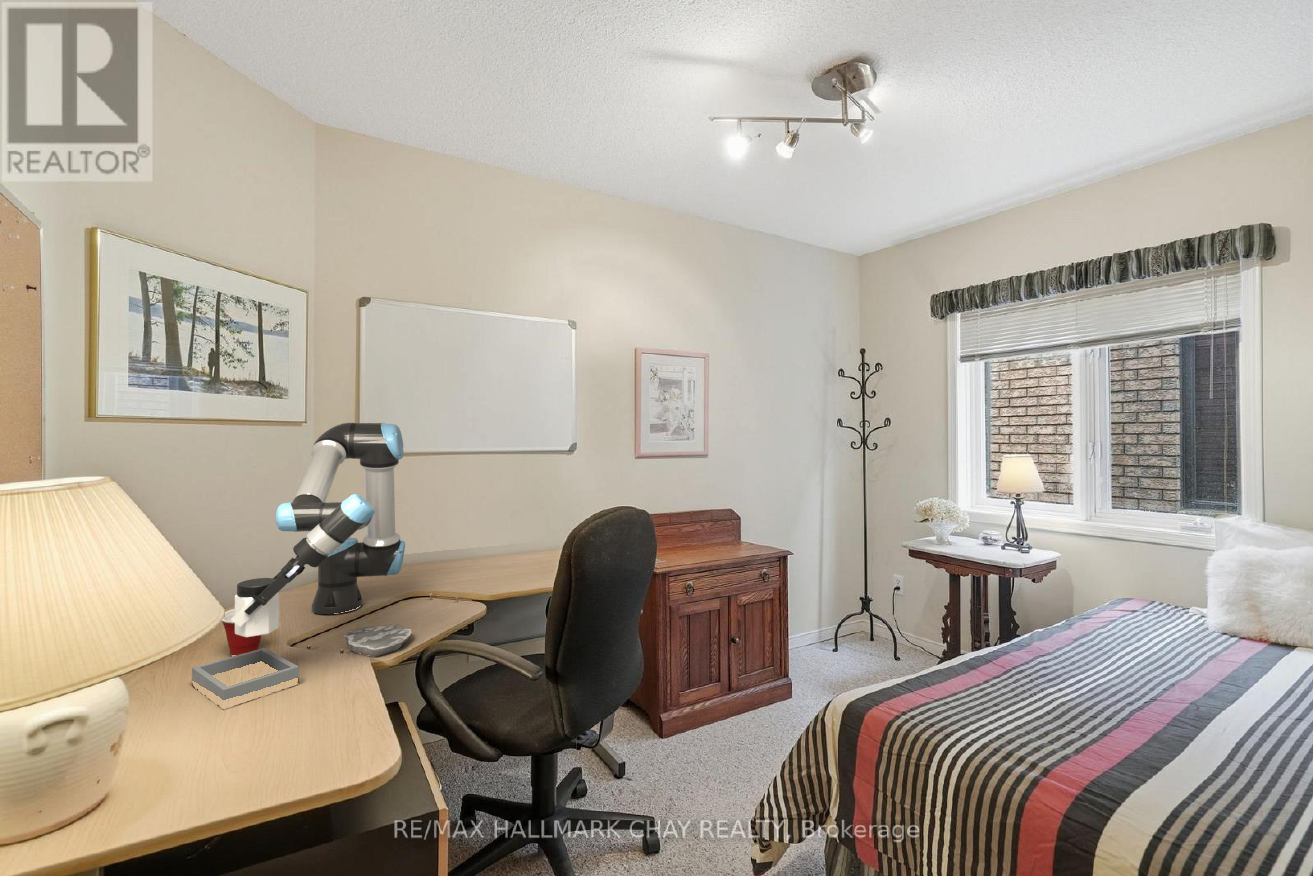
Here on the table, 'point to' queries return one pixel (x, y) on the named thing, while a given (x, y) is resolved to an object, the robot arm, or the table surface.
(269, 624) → the jar
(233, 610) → the plastic cup
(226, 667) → the bin
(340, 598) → the robot arm
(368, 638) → the grey stone slab
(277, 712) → the table surface
